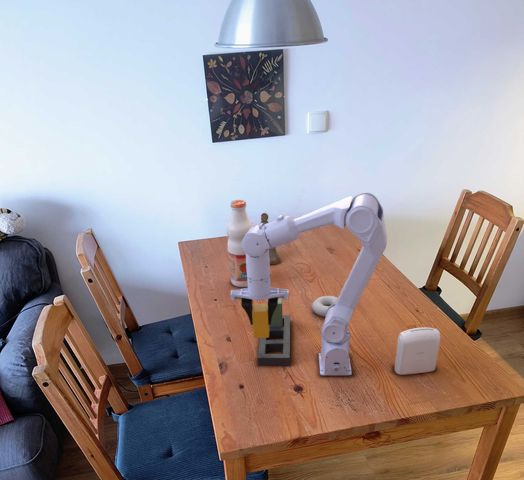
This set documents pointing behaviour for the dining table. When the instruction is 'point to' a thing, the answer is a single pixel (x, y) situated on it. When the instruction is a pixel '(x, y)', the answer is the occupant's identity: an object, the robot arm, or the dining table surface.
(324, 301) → the donut
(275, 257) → the worn brown figurine
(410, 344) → the photo printer
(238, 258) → the fruit juice
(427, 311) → the dining table surface
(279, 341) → the peg stand
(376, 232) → the robot arm
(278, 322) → the green peg
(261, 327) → the mustard peg
